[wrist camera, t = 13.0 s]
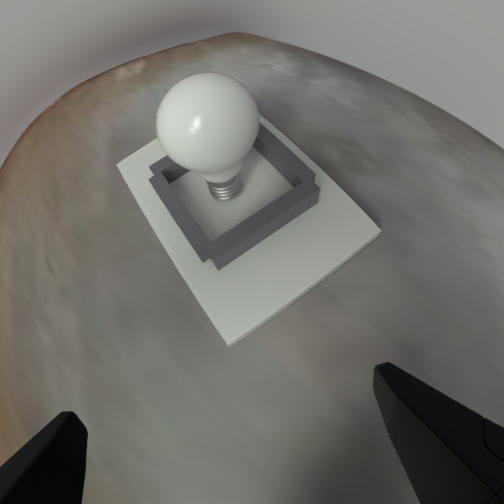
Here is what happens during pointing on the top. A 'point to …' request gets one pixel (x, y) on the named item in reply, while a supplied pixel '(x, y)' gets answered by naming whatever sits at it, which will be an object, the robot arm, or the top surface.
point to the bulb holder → (249, 229)
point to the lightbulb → (209, 129)
